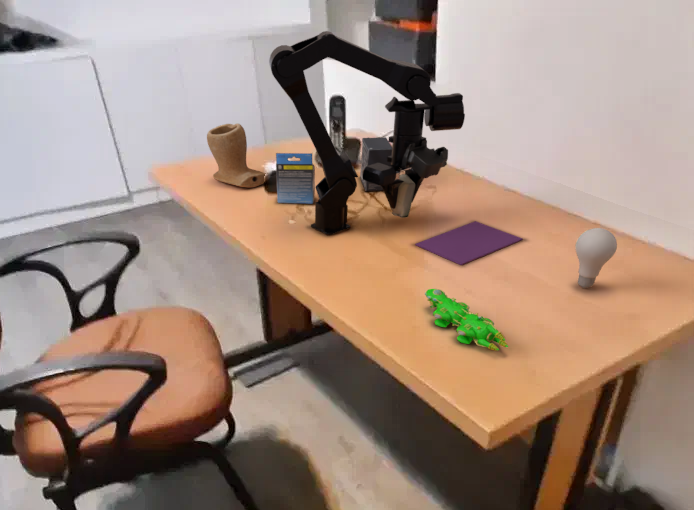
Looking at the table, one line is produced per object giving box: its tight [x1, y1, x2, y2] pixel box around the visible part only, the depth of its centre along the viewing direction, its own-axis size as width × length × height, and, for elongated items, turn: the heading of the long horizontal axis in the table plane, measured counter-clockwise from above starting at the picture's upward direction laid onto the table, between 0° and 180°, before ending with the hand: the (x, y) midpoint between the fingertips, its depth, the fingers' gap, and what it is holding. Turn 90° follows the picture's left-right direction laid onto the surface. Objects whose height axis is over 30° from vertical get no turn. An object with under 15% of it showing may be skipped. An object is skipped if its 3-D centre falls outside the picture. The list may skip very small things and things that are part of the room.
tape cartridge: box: [275, 152, 316, 205], centre depth 150 cm, size 9×4×12 cm, turn 76°
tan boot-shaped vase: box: [206, 123, 267, 188], centre depth 162 cm, size 15×12×15 cm
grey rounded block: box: [389, 173, 415, 219], centre depth 135 cm, size 6×5×8 cm
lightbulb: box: [574, 227, 618, 289], centre depth 107 cm, size 6×6×11 cm
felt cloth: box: [414, 220, 524, 266], centre depth 128 cm, size 18×12×1 cm, turn 122°
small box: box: [359, 137, 392, 192], centre depth 156 cm, size 11×6×10 cm, turn 179°
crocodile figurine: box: [424, 288, 509, 352], centre depth 100 cm, size 7×18×4 cm, turn 24°
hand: (401, 205), depth 135 cm, fingers closed on grey rounded block, 5 cm apart
